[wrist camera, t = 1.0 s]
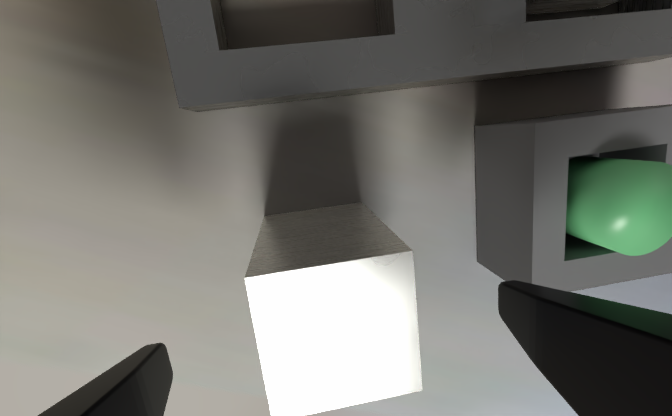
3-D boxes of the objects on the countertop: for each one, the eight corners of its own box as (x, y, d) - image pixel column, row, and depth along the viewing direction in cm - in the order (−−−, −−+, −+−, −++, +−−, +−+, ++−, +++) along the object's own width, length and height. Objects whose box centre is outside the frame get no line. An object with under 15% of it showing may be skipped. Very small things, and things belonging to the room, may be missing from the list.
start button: (616, 151, 13) (693, 155, 10) (610, 227, 13) (681, 248, 11) (542, 161, 12) (604, 168, 10) (540, 238, 13) (598, 262, 11)
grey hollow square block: (606, 109, 14) (704, 101, 11) (597, 241, 16) (681, 271, 12) (474, 126, 14) (535, 123, 10) (477, 261, 15) (531, 298, 12)
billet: (361, 201, 14) (412, 250, 8) (370, 289, 15) (422, 390, 9) (264, 216, 13) (244, 278, 8) (279, 305, 14) (272, 421, 9)
